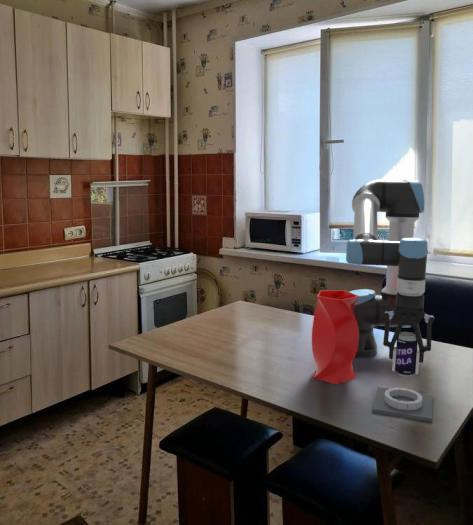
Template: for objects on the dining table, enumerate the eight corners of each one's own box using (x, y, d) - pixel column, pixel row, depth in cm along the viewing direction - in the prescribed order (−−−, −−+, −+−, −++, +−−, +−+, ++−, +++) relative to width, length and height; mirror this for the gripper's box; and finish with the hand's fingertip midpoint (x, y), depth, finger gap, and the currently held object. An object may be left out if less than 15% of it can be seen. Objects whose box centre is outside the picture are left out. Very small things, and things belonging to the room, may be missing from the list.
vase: (321, 364, 180) (324, 287, 175) (362, 371, 173) (366, 292, 168) (307, 379, 167) (310, 297, 162) (350, 388, 160) (354, 302, 155)
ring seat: (371, 412, 144) (372, 402, 144) (377, 389, 159) (377, 380, 159) (431, 422, 139) (432, 411, 138) (431, 398, 154) (432, 388, 153)
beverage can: (391, 370, 149) (394, 331, 147) (410, 370, 150) (412, 331, 148) (399, 378, 144) (402, 337, 142) (418, 377, 144) (421, 337, 142)
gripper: (375, 293, 143) (370, 371, 147) (446, 299, 136) (439, 380, 140) (377, 287, 150) (373, 362, 154) (445, 293, 143) (439, 371, 147)
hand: (405, 370), depth 147 cm, fingers closed on beverage can, 6 cm apart
